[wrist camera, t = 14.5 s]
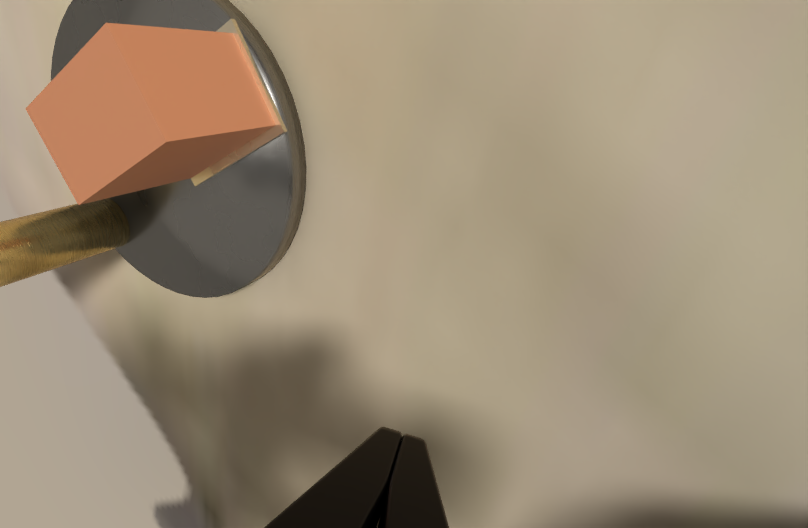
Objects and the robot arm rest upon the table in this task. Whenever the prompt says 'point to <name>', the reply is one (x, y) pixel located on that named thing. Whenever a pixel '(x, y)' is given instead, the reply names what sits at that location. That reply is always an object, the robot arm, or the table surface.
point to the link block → (147, 109)
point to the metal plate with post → (183, 200)
